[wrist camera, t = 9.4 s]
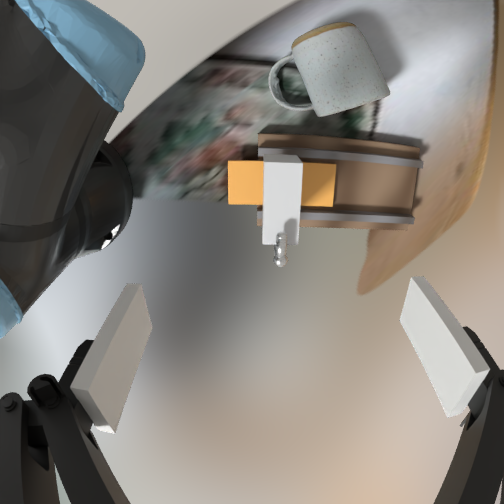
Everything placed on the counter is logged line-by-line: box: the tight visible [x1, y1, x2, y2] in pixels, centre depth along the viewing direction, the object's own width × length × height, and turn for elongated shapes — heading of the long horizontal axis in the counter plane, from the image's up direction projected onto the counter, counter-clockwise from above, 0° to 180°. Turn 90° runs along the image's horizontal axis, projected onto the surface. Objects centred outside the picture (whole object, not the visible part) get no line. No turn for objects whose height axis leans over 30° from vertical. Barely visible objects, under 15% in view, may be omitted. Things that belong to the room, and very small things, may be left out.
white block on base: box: [228, 154, 336, 245], centre depth 29 cm, size 11×7×8 cm, turn 90°
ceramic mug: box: [268, 22, 390, 117], centre depth 25 cm, size 11×8×8 cm
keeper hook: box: [273, 231, 288, 267], centre depth 30 cm, size 2×3×10 cm
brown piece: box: [257, 133, 424, 231], centre depth 32 cm, size 18×10×3 cm, turn 90°
